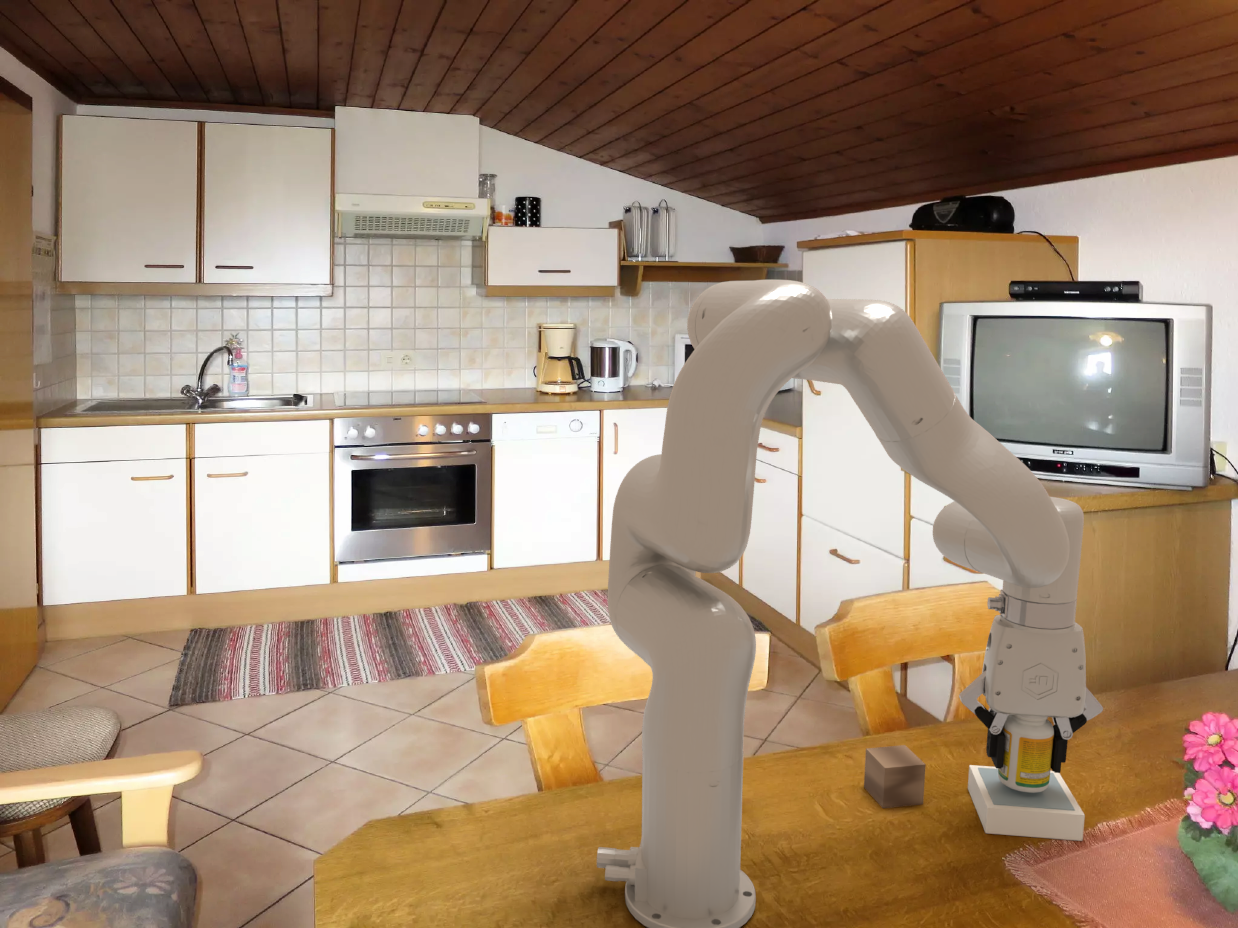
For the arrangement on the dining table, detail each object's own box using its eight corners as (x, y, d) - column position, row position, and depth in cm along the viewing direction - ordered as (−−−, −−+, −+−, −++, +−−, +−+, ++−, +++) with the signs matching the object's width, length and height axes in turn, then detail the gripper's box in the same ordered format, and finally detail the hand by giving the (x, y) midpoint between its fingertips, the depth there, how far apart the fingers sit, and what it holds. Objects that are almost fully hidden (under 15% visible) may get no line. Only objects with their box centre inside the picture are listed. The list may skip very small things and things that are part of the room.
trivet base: (985, 832, 108) (987, 806, 108) (967, 788, 118) (969, 763, 117) (1082, 840, 107) (1084, 813, 106) (1056, 794, 117) (1058, 769, 116)
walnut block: (882, 808, 113) (885, 767, 113) (863, 787, 118) (865, 748, 117) (923, 804, 114) (925, 764, 114) (902, 783, 119) (905, 744, 118)
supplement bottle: (988, 780, 112) (994, 700, 110) (1013, 766, 115) (1019, 688, 114) (1033, 799, 108) (1040, 716, 106) (1058, 784, 111) (1065, 703, 110)
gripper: (962, 616, 106) (951, 774, 109) (1133, 625, 103) (1117, 787, 106) (950, 595, 113) (940, 744, 116) (1109, 603, 111) (1094, 755, 114)
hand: (1024, 763), depth 111 cm, fingers closed on supplement bottle, 5 cm apart
